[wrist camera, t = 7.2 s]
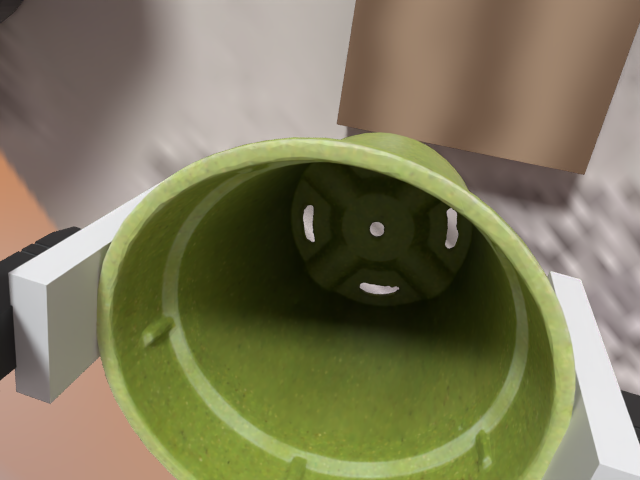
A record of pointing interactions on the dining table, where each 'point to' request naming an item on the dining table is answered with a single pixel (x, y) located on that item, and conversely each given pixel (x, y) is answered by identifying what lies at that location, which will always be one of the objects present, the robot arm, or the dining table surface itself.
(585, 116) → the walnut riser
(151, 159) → the dining table surface
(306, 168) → the plant pot
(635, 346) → the dining table surface
